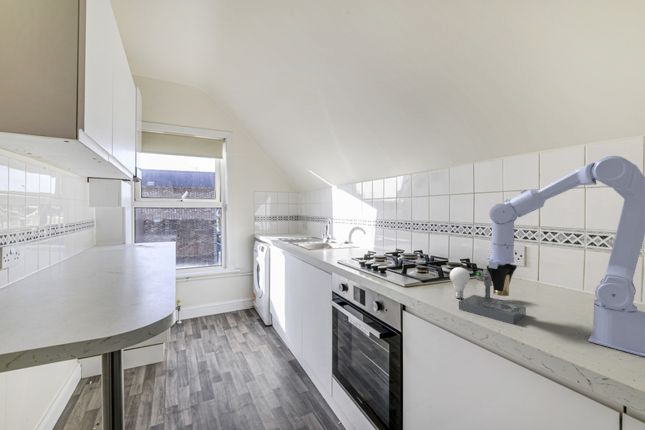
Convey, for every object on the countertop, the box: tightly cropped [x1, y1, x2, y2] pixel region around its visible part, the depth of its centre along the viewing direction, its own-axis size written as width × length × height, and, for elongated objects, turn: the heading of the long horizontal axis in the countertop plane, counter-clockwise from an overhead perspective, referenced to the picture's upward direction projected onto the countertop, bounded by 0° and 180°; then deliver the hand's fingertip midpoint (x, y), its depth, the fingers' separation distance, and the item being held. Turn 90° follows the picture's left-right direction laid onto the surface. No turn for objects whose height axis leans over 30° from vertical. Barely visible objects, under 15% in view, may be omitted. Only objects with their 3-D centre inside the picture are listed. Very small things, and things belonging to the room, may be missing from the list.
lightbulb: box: [449, 266, 471, 300], centre depth 102 cm, size 6×6×11 cm
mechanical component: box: [475, 268, 493, 299], centre depth 103 cm, size 3×10×10 cm, turn 111°
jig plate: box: [458, 294, 527, 325], centre depth 89 cm, size 15×11×2 cm
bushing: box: [492, 274, 510, 297], centre depth 86 cm, size 4×4×6 cm
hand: (501, 289), depth 86 cm, fingers closed on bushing, 4 cm apart
